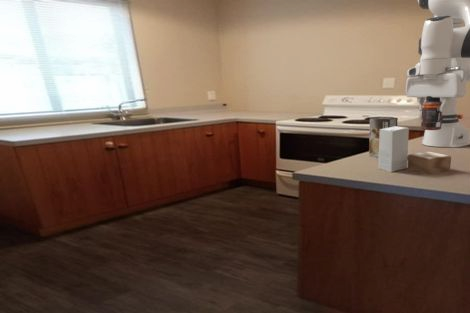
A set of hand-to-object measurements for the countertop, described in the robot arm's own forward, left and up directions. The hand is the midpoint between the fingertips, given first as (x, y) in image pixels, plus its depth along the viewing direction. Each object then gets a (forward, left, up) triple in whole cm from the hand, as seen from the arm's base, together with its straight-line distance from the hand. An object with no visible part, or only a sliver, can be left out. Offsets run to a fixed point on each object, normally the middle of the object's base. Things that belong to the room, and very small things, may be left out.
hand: (432, 111), depth 110 cm
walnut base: (0, 0, -20) cm, 20 cm away
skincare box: (+9, -7, -20) cm, 23 cm away
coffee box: (-2, -25, -20) cm, 32 cm away
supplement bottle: (0, 0, -6) cm, 6 cm away
